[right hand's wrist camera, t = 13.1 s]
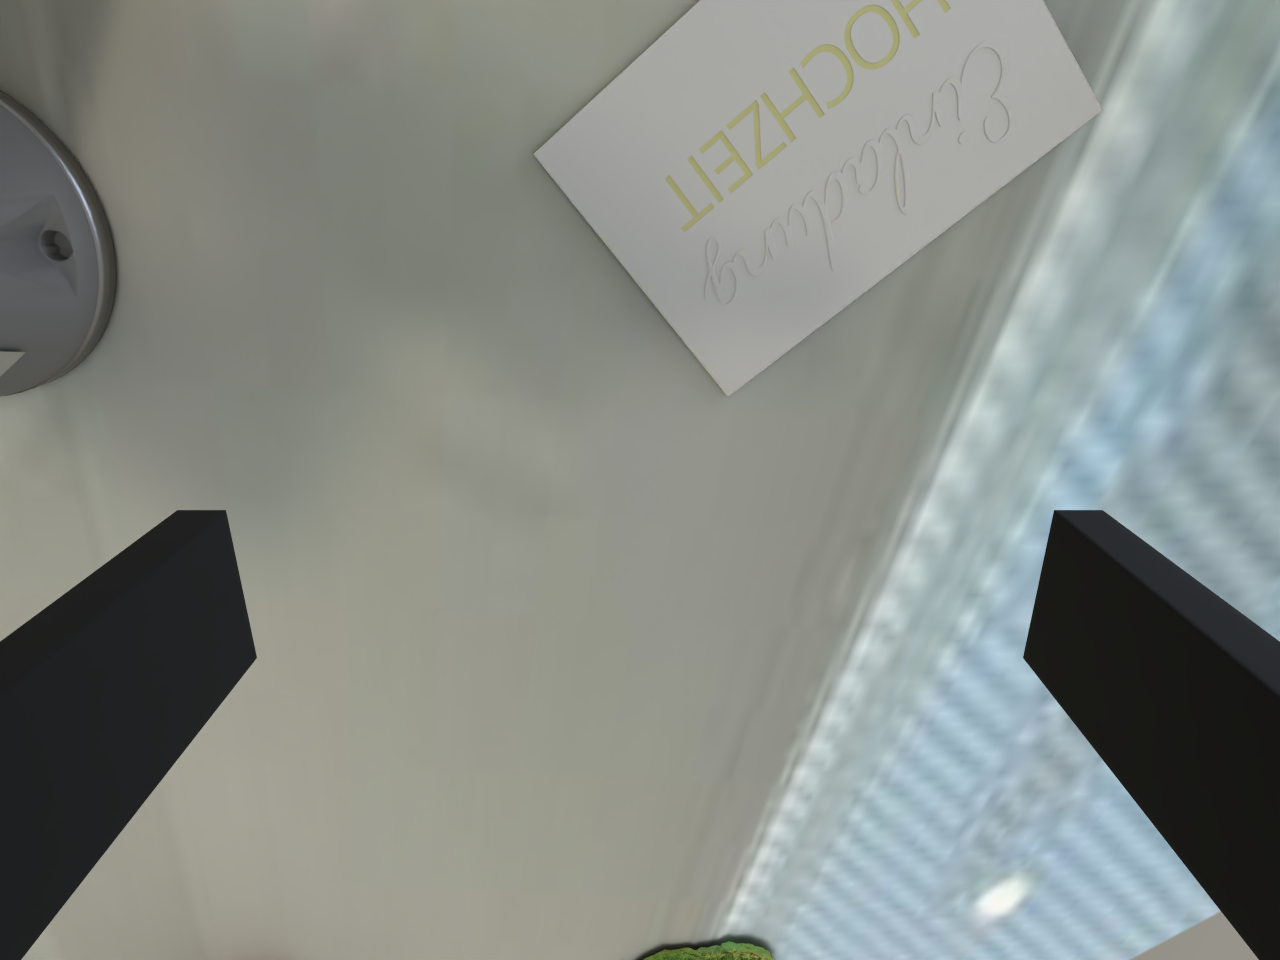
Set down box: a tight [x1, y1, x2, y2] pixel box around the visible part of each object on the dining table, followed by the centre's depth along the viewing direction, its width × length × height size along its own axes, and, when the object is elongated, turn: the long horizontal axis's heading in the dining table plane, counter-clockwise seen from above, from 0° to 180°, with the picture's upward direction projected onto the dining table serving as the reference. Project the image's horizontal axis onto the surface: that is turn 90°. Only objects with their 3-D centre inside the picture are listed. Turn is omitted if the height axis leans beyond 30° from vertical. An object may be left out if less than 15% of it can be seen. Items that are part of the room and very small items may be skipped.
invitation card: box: [534, 0, 1103, 397], centre depth 36 cm, size 21×1×15 cm
